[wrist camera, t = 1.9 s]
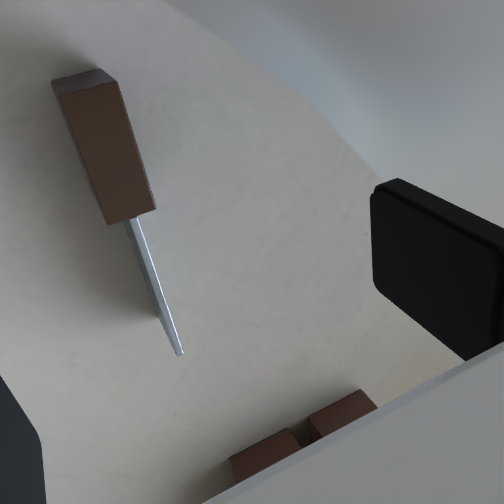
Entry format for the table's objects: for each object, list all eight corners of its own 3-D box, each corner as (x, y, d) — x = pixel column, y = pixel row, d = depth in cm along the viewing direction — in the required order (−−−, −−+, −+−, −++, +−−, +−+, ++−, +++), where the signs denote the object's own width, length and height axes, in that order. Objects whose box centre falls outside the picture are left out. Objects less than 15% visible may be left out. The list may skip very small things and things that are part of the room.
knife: (49, 80, 22) (58, 96, 19) (101, 67, 23) (117, 80, 20) (143, 324, 30) (160, 364, 27) (179, 309, 31) (200, 346, 28)
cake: (228, 457, 39) (260, 522, 35) (361, 389, 43) (406, 439, 38) (254, 538, 46) (283, 601, 42) (367, 473, 50) (405, 525, 45)
